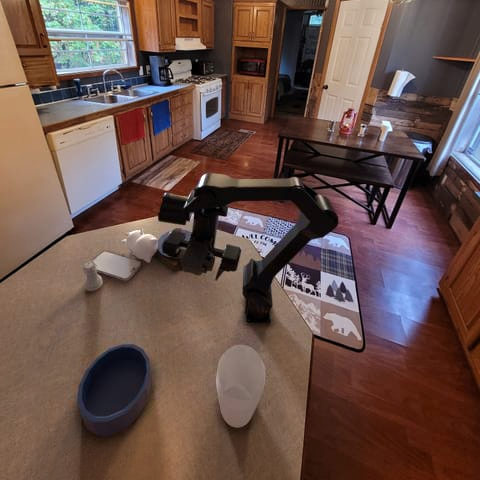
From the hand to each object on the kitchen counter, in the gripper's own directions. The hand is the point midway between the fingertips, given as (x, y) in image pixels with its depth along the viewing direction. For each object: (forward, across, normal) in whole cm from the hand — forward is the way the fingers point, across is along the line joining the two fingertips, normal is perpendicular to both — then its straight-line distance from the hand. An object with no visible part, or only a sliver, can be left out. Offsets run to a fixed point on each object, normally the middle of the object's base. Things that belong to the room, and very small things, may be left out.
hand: (199, 274), depth 65 cm
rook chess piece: (+14, -30, -1) cm, 34 cm away
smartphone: (+14, -29, +7) cm, 33 cm away
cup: (+11, +15, -18) cm, 26 cm away
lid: (+9, -13, +18) cm, 24 cm away
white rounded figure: (+10, -30, +16) cm, 35 cm away
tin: (+13, -8, -22) cm, 26 cm away
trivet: (+12, -13, +18) cm, 26 cm away
